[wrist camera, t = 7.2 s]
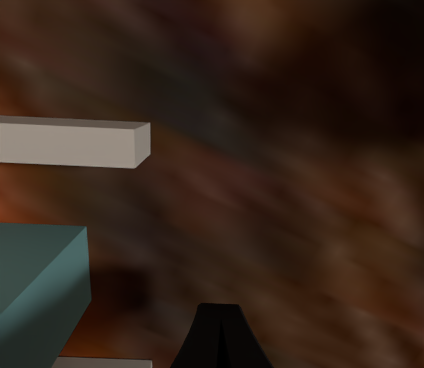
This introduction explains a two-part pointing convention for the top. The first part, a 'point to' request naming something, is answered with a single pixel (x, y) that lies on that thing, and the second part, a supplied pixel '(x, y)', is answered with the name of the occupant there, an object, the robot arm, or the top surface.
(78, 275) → the teal block
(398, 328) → the top surface
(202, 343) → the robot arm
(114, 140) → the white square frame
